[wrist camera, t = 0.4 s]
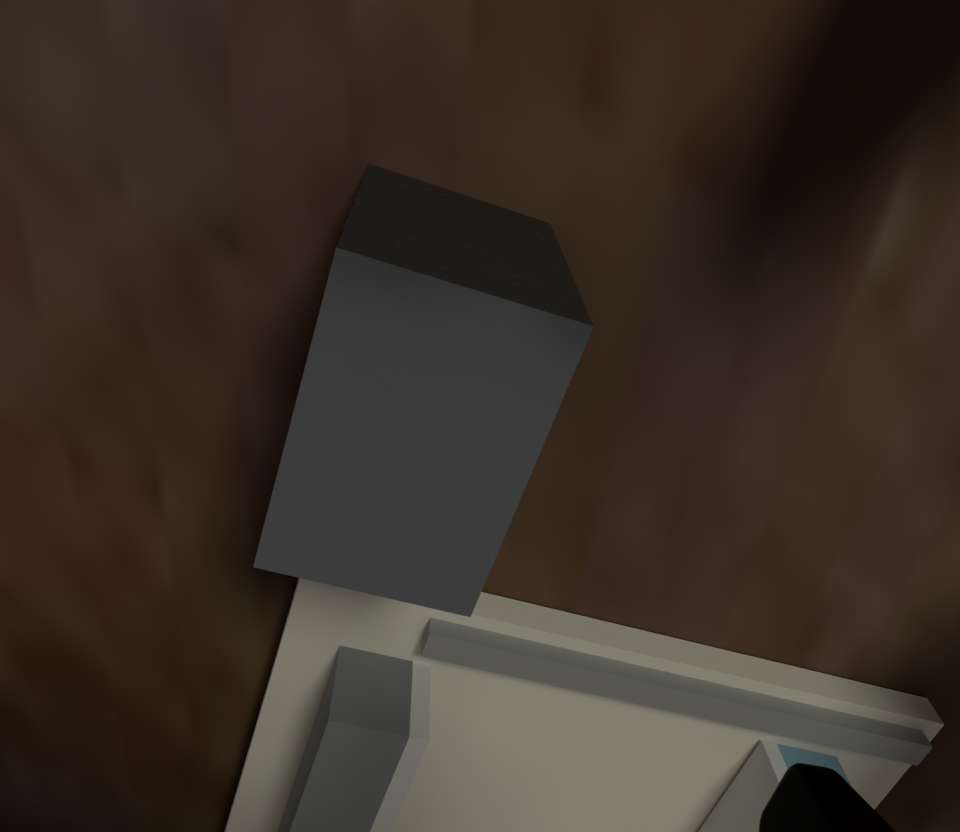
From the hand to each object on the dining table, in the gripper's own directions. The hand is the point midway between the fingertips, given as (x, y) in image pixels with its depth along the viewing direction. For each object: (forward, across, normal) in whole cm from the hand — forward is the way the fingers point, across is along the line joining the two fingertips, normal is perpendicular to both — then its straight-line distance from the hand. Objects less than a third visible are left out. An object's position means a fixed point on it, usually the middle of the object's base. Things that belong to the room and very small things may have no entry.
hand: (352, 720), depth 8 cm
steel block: (+12, 0, 0) cm, 12 cm away
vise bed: (+12, -7, +17) cm, 22 cm away
